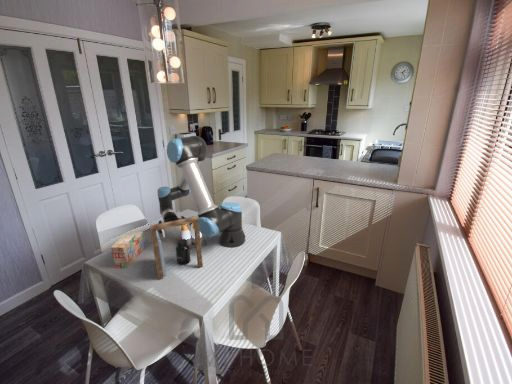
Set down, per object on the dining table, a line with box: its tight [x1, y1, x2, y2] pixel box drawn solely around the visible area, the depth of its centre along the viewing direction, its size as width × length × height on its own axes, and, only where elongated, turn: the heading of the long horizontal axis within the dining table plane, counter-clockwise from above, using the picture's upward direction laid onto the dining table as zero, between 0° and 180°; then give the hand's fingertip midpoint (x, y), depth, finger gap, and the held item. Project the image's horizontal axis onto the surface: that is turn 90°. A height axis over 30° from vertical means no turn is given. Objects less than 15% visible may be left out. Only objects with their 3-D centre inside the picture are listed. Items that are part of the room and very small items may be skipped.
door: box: [156, 231, 167, 277], centre depth 130 cm, size 14×2×18 cm, turn 27°
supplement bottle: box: [175, 238, 192, 266], centre depth 136 cm, size 7×7×12 cm
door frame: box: [149, 215, 204, 280], centre depth 126 cm, size 21×2×27 cm, turn 117°
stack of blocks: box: [110, 231, 147, 269], centre depth 142 cm, size 21×6×12 cm, turn 177°
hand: (177, 231), depth 143 cm, fingers open, 13 cm apart
